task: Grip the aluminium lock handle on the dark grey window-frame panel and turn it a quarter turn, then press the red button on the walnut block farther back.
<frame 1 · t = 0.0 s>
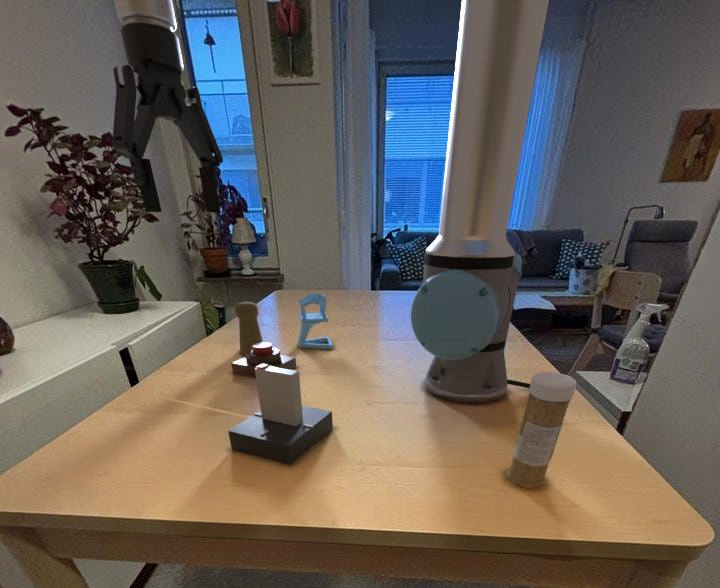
hand: (186, 212, 67), 28 cm above the table, tool pointing down, fingers open, 13 cm apart
button block: (265, 370, 84), on the table
chair: (314, 346, 100), on the table
lock handle: (279, 395, 55), point 7 cm above the table, hinge at 0.0°
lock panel: (284, 438, 59), on the table
cork: (252, 352, 96), on the table
button: (262, 349, 82), point 4 cm above the table, slide at 0.1 cm
sprinkles bottle: (524, 480, 51), on the table
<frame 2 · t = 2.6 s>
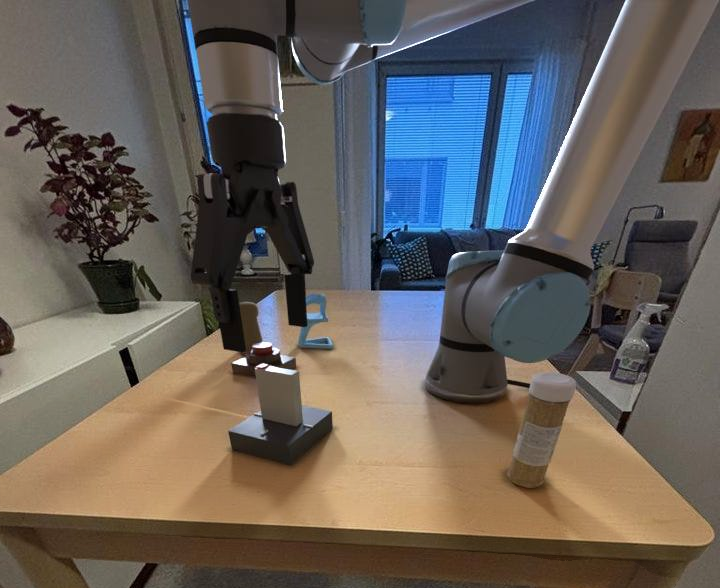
hand: (269, 337, 51), 15 cm above the table, tool pointing down, fingers open, 13 cm apart
nothing on the table moved.
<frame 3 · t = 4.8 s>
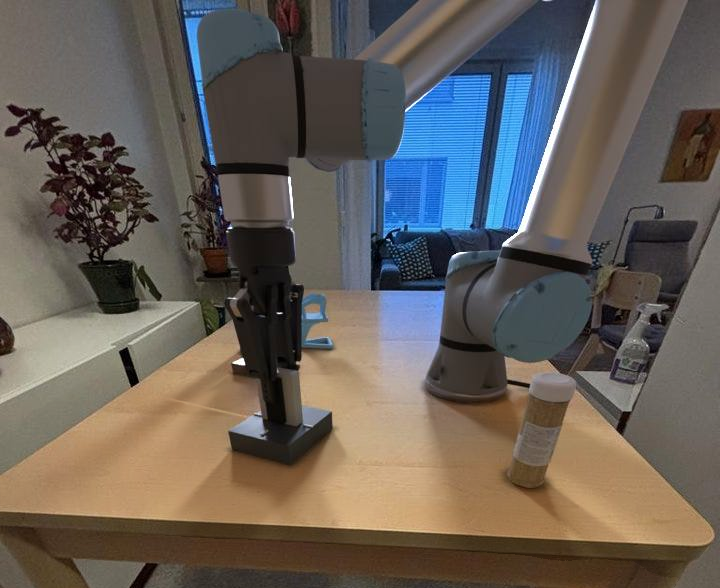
hand: (282, 417, 57), 3 cm above the table, tool pointing down, fingers closed on lock handle, 2 cm apart
lock handle: (279, 395, 55), point 7 cm above the table, hinge at 0.0°, touching gripper
everything else where it was.
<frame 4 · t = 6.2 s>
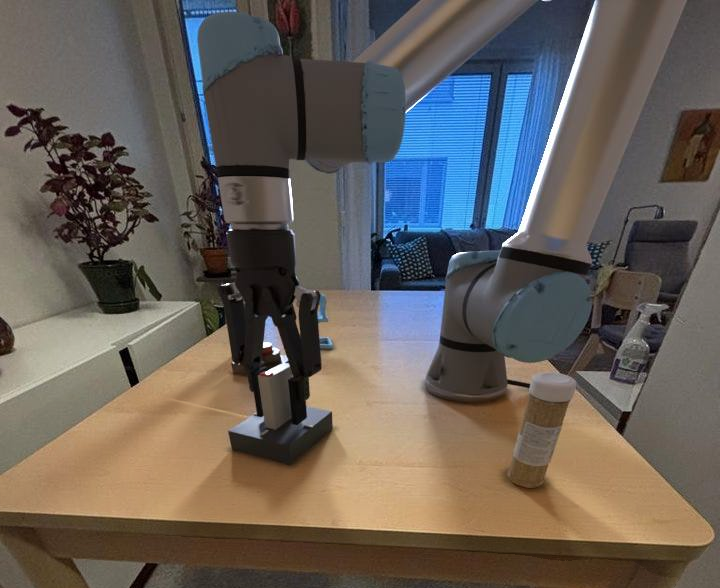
hand: (282, 416, 57), 4 cm above the table, tool pointing down, fingers open, 5 cm apart
lock handle: (279, 395, 55), point 7 cm above the table, hinge at 90.0°
everything else where it was.
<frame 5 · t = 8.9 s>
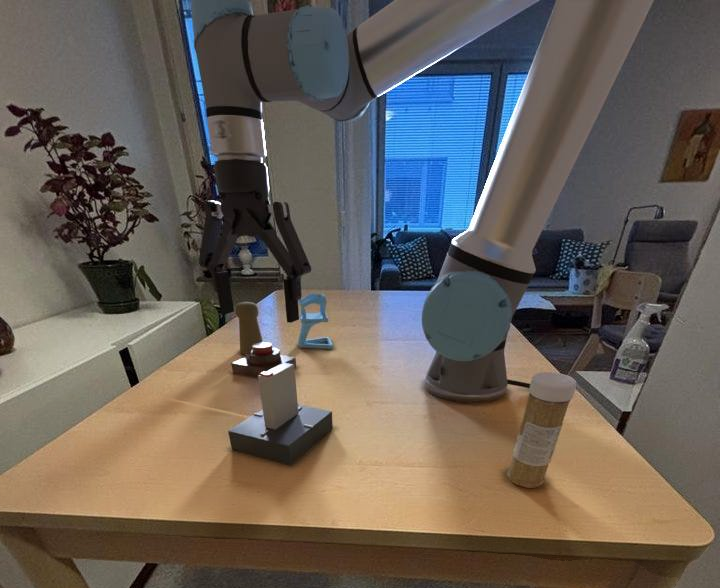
hand: (259, 317, 69), 13 cm above the table, tool pointing down, fingers open, 13 cm apart
nothing on the table moved.
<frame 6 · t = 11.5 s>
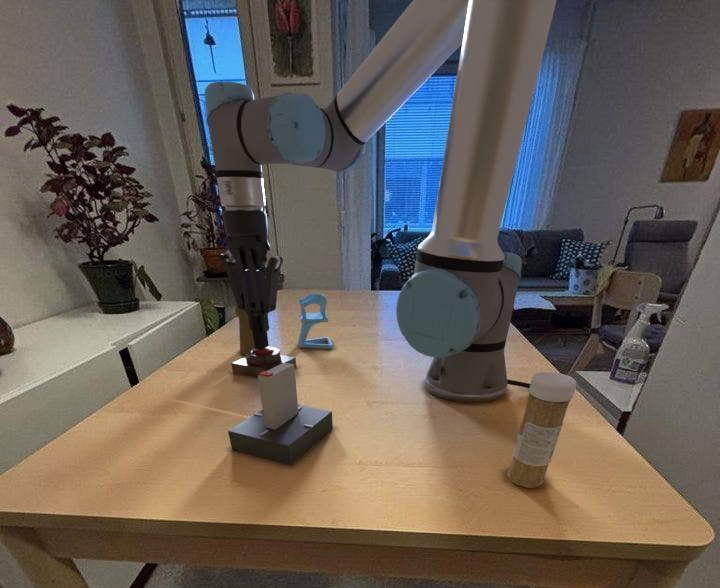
hand: (261, 347, 82), 5 cm above the table, tool pointing down, fingers closed
button: (263, 352, 82), point 4 cm above the table, slide at -0.6 cm, touching gripper
everything else where it was.
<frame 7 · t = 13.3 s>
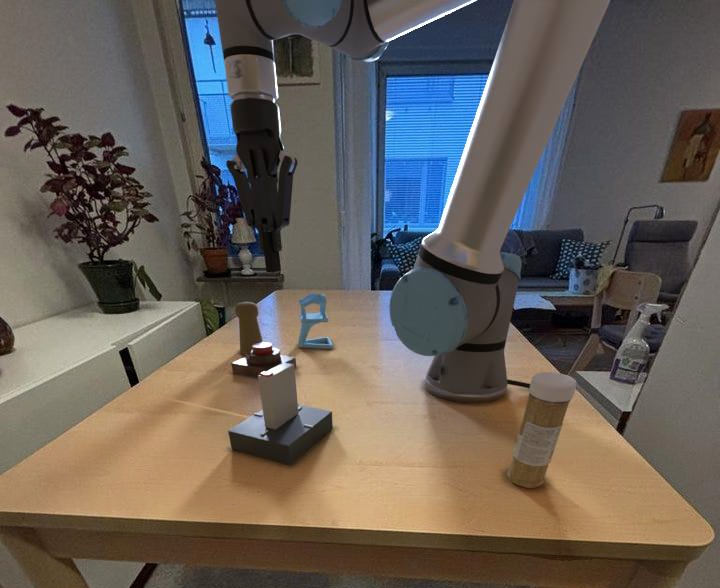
hand: (273, 271, 75), 19 cm above the table, tool pointing down, fingers closed
button: (262, 349, 82), point 4 cm above the table, slide at 0.1 cm
everything else where it was.
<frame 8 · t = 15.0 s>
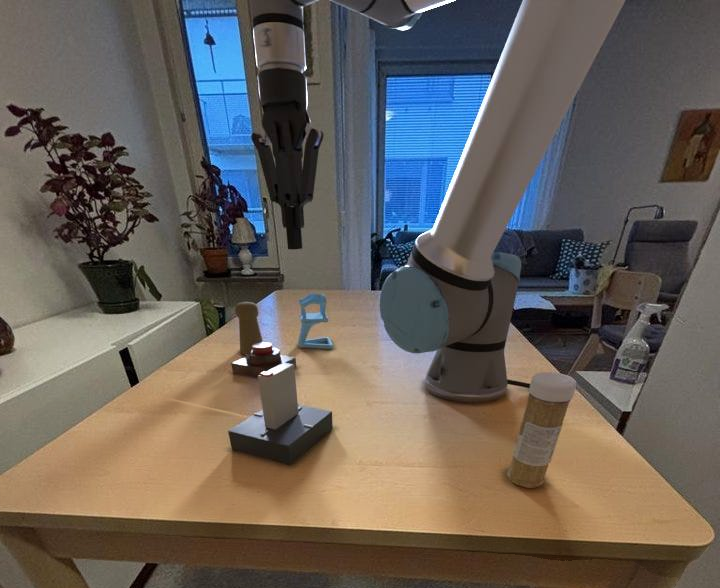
hand: (295, 248, 74), 22 cm above the table, tool pointing down, fingers closed
nothing on the table moved.
at the end: lock handle at +90° (first picture: +0°); button pushed in 1.0 cm at the most during the clip, back to where it started at the end; button slide at 0.1 cm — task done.
